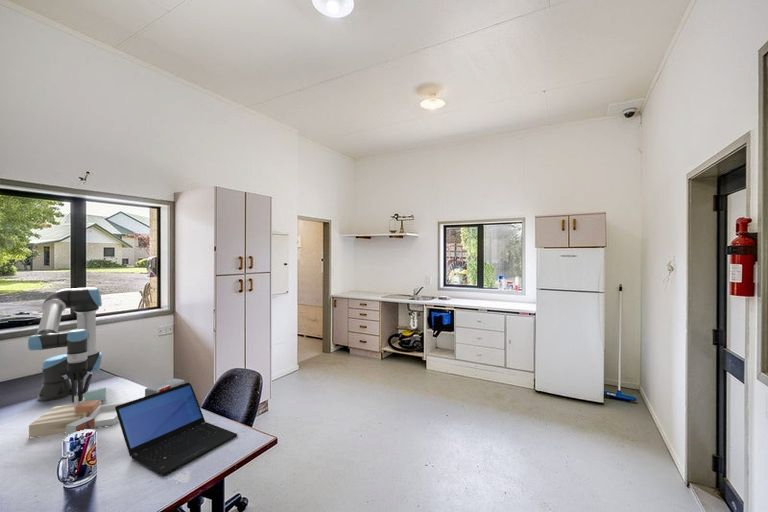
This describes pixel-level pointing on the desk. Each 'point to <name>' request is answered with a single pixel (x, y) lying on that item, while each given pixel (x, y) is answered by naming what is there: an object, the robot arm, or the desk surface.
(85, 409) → the tile
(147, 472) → the desk surface
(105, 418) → the box
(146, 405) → the laptop
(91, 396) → the l-shaped corner panel
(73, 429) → the small box
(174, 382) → the hard drive box
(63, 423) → the plate
